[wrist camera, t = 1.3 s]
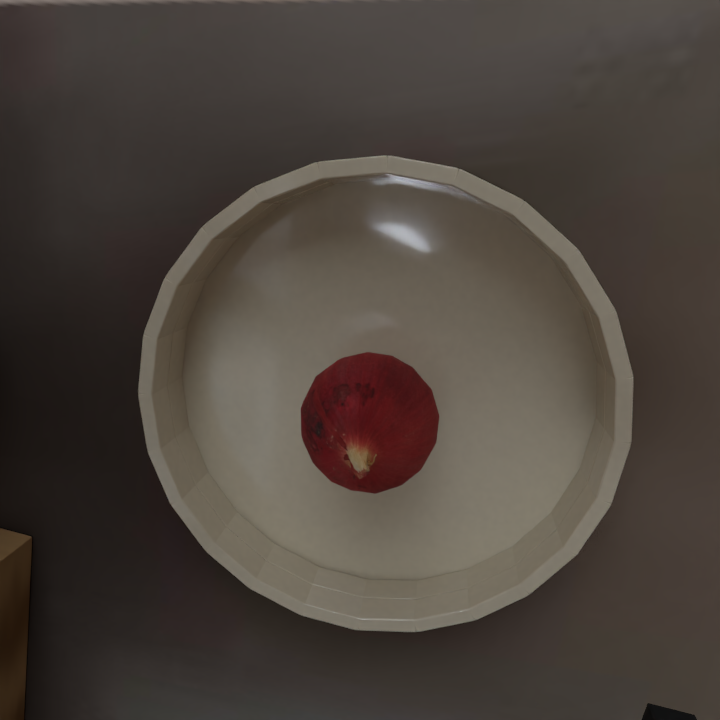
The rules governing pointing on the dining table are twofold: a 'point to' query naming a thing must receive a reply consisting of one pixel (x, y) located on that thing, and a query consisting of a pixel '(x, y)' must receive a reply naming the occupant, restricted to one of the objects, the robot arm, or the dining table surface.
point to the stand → (14, 621)
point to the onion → (369, 422)
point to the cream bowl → (412, 346)
